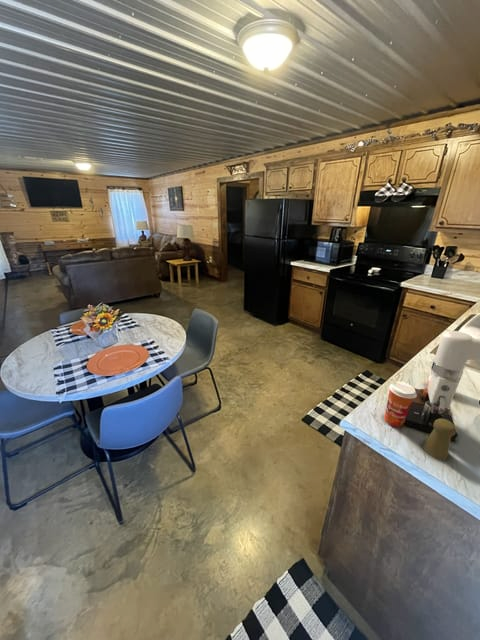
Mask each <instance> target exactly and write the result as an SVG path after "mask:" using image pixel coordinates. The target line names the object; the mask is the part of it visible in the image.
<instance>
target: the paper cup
mask: <svg viewBox="0 0 480 640" xmlns="http://www.w3.org/2000/svg"><path fill="white" fill-rule="evenodd" d="M414 388H415V387H414V386H412V385H411V384H409V383H407V382H405V381H404V382H403V381H394V382H393V383H392V384H389V392H388V396H387V402H386V406H385V413H384V421H385V422H386V423H387V424H388V425H389V426H392V427H395V428H400V427H402V426H404V420H405V418H406V416H407V413H408V411H409V409H410V406H411V404H412V402H413V399H414V398H416V396H417V394H416V392H415V389H414Z"/></svg>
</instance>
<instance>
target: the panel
mask: <svg viewBox="0 0 480 640" xmlns="http://www.w3.org/2000/svg"><path fill="white" fill-rule="evenodd" d="M423 408H424V407H421V406H417V405H413V404H411V406H410V409H409V411H408V413H407V416H406V418H405V420H404V423H403V427H405V428H409V429H411V430H414V431H418V432H421V433H424V434H427V435H430V434H431V433H432V431H433V430H434V426H433V423H430V422H427V420H426V419H425V418H423V417H422V415H421V414H422V411H423ZM453 418H454V417H453V416H452V414H449V413H448V414H445V413H444V414H443V416H442V418H441V419H446V420H448V421H450V422H452V423H453V424H454V425H455V422H454V419H453ZM458 436H459V434H458V431H457V430H456V433H455V434H454V435H453V436H451V440H450V442H452V443H456V440H457V438H458Z"/></svg>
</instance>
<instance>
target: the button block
mask: <svg viewBox="0 0 480 640" xmlns="http://www.w3.org/2000/svg"><path fill="white" fill-rule="evenodd" d="M413 388H414V389H415V392H416V394H417V396H416V398H414V399H413V402H412V404H413V405H417V406H421V407H424V405H425V404H424V399H425V397H426V396H425V395H423V391H424V389H425V388H416V387H413ZM436 403H437V404H439V402H436ZM444 413H445V414H449V413H450V410H449V408H448V409H446V408H445V411H444Z"/></svg>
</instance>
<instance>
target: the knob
mask: <svg viewBox="0 0 480 640" xmlns="http://www.w3.org/2000/svg"><path fill="white" fill-rule="evenodd" d="M436 404H437V403H436ZM435 409H438V406H435ZM430 411H432V404H431V403H430V401H426V402H425V405H424V408H423V411H422V414H421V415H422V417H423V418H425V419H426V420H427V418H428V415H429V412H430Z"/></svg>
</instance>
